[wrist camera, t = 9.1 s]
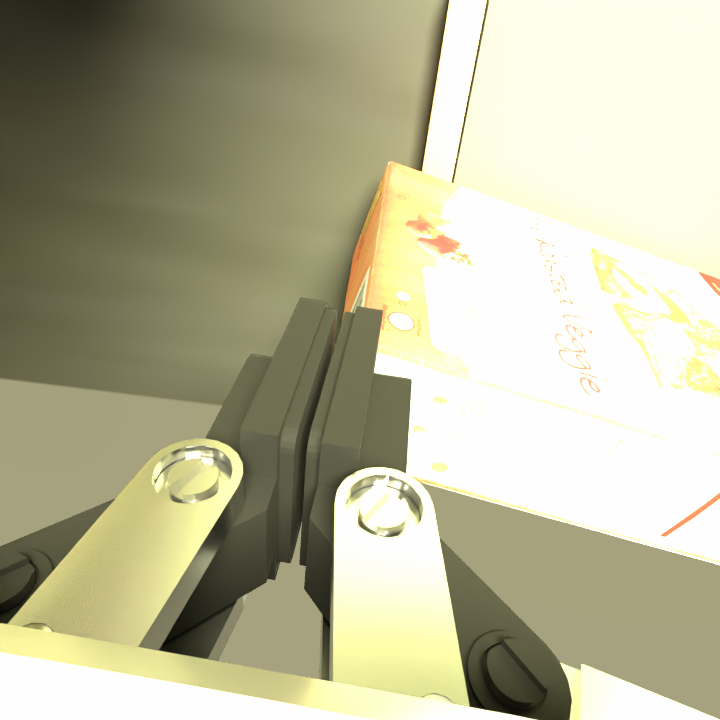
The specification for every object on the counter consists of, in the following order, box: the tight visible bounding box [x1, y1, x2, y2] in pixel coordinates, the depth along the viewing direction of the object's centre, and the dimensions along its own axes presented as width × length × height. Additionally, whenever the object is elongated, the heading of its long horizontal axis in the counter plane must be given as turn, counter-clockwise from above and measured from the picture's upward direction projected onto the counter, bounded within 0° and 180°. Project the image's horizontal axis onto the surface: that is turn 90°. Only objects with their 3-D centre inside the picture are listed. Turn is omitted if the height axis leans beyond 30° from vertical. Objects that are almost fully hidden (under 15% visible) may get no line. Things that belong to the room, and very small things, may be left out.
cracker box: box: [342, 162, 720, 565], centre depth 23 cm, size 14×6×21 cm
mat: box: [422, 0, 720, 279], centre depth 26 cm, size 20×25×2 cm
